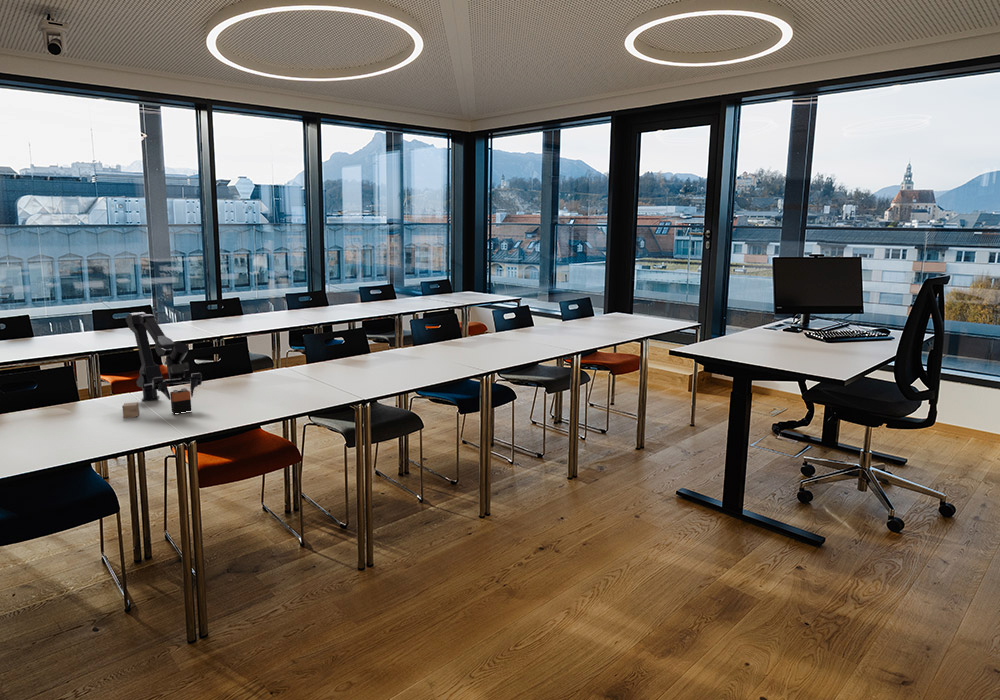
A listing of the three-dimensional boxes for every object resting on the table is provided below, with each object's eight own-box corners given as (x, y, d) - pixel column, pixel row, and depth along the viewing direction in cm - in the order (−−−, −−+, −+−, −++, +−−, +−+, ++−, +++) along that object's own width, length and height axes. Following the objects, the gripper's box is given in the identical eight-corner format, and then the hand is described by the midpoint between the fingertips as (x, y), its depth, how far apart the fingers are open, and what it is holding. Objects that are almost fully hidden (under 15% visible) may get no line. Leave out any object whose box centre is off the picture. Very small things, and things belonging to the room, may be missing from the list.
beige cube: (125, 414, 280) (124, 403, 279) (139, 413, 282) (138, 402, 281) (123, 417, 276) (122, 406, 275) (137, 416, 277) (136, 405, 276)
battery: (192, 412, 284) (190, 389, 282) (174, 415, 280) (172, 391, 278) (188, 410, 288) (186, 387, 286) (171, 413, 283) (169, 389, 281)
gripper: (150, 358, 278) (156, 390, 271) (199, 354, 288) (206, 384, 281) (150, 374, 286) (155, 405, 278) (197, 369, 296) (204, 399, 289)
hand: (181, 398), depth 281 cm, fingers open, 8 cm apart
